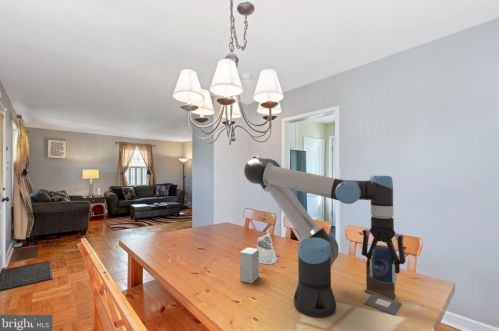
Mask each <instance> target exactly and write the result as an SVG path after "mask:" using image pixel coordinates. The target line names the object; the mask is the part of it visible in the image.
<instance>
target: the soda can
mask: <svg viewBox="0 0 499 331" xmlns="http://www.w3.org/2000/svg"><path fill="white" fill-rule="evenodd" d="M372 263H373V276H374V278H375V280H377V281H379V282H382V283H391V282H392V264H393V263H394V260H393V258H392V255H391V253H390V250H389V248H388V246H387V245H383V244H377V245H376V246H375V247H374V249H373V251H372Z"/></svg>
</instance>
